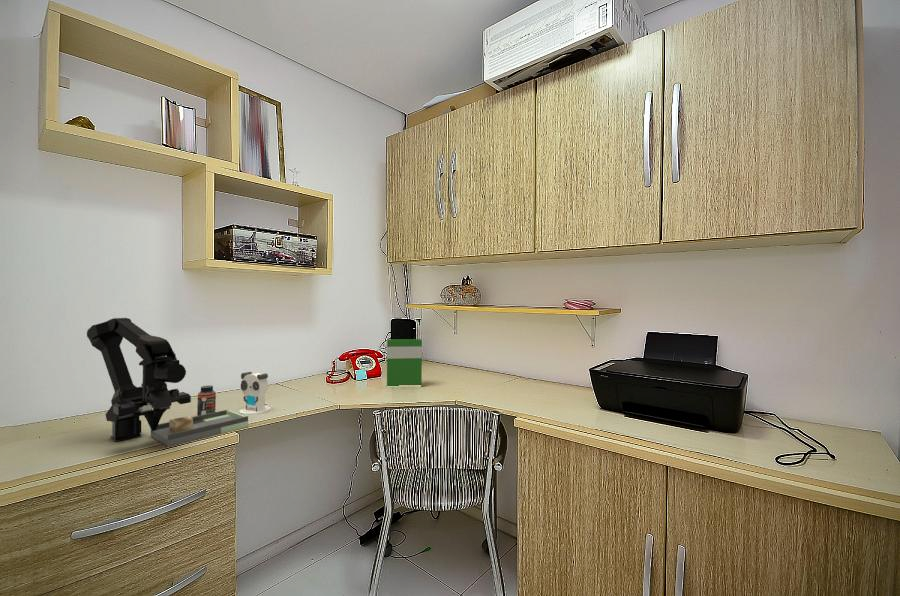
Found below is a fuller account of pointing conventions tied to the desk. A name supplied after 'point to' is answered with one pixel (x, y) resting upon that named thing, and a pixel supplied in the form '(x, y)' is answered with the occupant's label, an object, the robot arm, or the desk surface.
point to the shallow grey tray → (201, 427)
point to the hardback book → (404, 362)
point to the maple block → (180, 424)
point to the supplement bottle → (206, 400)
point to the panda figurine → (254, 392)
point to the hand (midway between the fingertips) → (153, 430)
